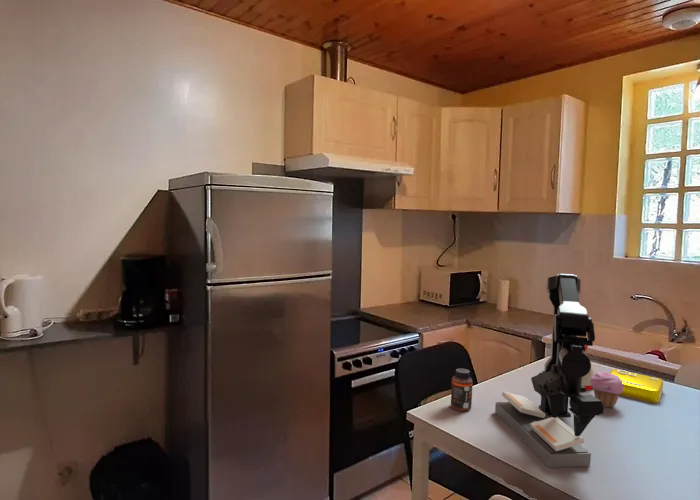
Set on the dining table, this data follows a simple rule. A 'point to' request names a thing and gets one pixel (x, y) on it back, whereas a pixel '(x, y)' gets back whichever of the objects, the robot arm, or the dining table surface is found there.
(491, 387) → the dining table surface
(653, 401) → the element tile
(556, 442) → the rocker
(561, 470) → the dining table surface
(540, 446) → the grey switch panel
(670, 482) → the dining table surface
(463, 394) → the supplement bottle
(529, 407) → the rocker
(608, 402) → the cupcake
